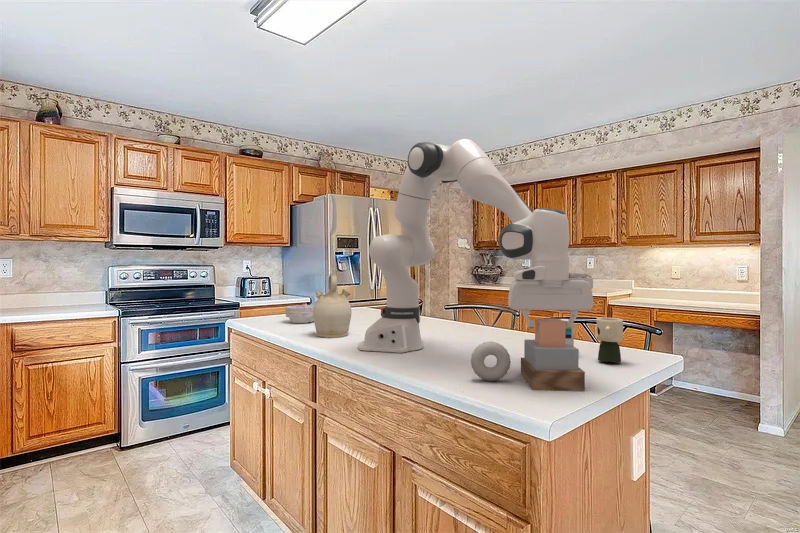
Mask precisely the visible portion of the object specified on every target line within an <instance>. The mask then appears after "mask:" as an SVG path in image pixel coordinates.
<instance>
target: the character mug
mask: <svg viewBox="0 0 800 533" xmlns="http://www.w3.org/2000/svg"><path fill="white" fill-rule="evenodd" d="M623 339H624V319H622V318H618V317H617V318H616V317H597V318H596V340H599V341H601V342H600V344H599V348H598V355H597V356H598V357H597V361H599V362H603V363H605V362H606V363H607V364H610V363H621V362H622V357H621V349H620V348H621V347H620V344H619V342H622V341H623Z"/></svg>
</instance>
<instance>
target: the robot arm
mask: <svg viewBox="0 0 800 533" xmlns="http://www.w3.org/2000/svg"><path fill="white" fill-rule="evenodd" d="M439 182H442V183H443V184H447V183H455V182H457V183H458V184H459V186H460V188H461V189H462V191H464V192H465V193H466V195H467V196H468V197H469V198H471V199H472V200H474V201H476V202H480V203H483V204H486V205H489V206H491V207H493V208H496V209H498V210H499V211H501V212H502V213H504V214H505V215H506V216H507V218H508V219H509V220H510V221H511V223H508V224H507V225H505V226H504V227H503V228H502V230H501V231H500V234H499V235H498V236H499V237H498V247H499V250H500V252H501V253H502V255H503V256H505V258H508V259H513V260H521V261H522V260H524V261H525V260H526V261H529V260H530V261H531V265H530V266H527V267H523V268H521V269H516V270H514V272H513V273H512V277H513V279H514V280H512V282H511V283H510V285H509V292H508V299H507V305H508V307H509V308H510V309H511V310H513V311H515V310H517V311H519V310H520V311H522V312H521V313H522V314H521V315H523V318H524V319H525V321H526V327H527V329H535V320H532V319H530V317H529V315H530V313H531V312H530V311H569V314H570V317H569V319H568V321H565V322H566V327H565V328H567V329H573V323H574V322H575V320H576V319H577V317H578V316H579V312H580V311H581V312H582V311H584V312H585V311H587V312H588V311H591V310H592V309H593V308H594V297H593V291H592V290H593V288H594V279H593V277H592V276H591V275H590V274H588V273H586V272H581V273H579V272H578V273H577V272H570V257H569V254H568V249H569V245H570V225H569V219H568V216H567V214H566V213H565V211H564V210H561V209H554V208H547V207H538V208H536V209H534V210H532V209H531V207H529V205H528V204H527V203H526V201H525V200H524V199H523V198H522V197H521V196H520V195H519V193H518V192H517V191H516V190H515V189H514V187H512V186H511V184H510V183H509V182H508V181H507V180H506V179H505V178H504V177H503V175H502V173H501V172H500V171H499V170H498V168H496V166H495V164H494V163H493V162H492V161H491V159H490V158H489V156H488V155H487V153H486V152H485V151H484V150H483V149H482V148H481V147H480V146H479V145H478V144H477V143H475V142H474V141H473V140H471V139H469V138H462V139H461V138H460V139H459V140H457V141H455V142H453V143H452V145H447V144H439V143H433V142H430V141H429V142H427V141H424V142H417V143H416V144H414V145H413V146H412V147H411V148H410V150H409V152H408V155H407V167H406V168H405V171H404V173H403V175H402V179H401V182H400V186H399V190H398V193H397V198H396V203H395V209H394V217H395V218H396V220H397V221H398V222H399V223H400V224H401V234H391V233H388V234H381V235H378V236H375V237H374V238H373V239H372V240H371V242H370V244H369V247H368V253H369V256H370V260H371V261H372V262H373V263H374V264H375V265H376V266H377V267H378V269H379V270H380V271H381V273H382V276H383V278H384V281H385V287H386V288H385V289H386V306H382V307H381V308H380V317H379V319H377V320H376V321H375V322H374V323H373V324H371V325H370V326H369V327H368V328H367V329H366V330H365V334H364V340H362V341H360V342H359V343H358V344H357V345H358V346H357V349H358V350H360V351H369V352H370V351H371V352H383V353H399V354H400V353H402V354H403V353H407V352H410V351H417V350H421V349H423V348H424V345H423V341H422V336H421V329H420V321H421V307H420V305H419V296H420V292H419V289H420V288H419V283H418V282H417V281H416V280H415V279H414V278H412V276H411V275H410V273H409V270H408V267H420V266H423V265H424V266H425V265H426V264H429V263H430V262H432V260H433V258H434V255H435V245H434V244H433V242H432V240H431V239H430V237H429V234H428V229H427V220H428V214H429V209H430V204H431V200H432V194H433V191H434V190H433V189H434V187H435V185H436V184H437V183H439Z"/></svg>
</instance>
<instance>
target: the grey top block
mask: <svg viewBox="0 0 800 533" xmlns="http://www.w3.org/2000/svg"><path fill="white" fill-rule="evenodd" d="M523 340H524V341H523V342H524V350H523V351H524V354H523V355H524V357H523V358H524V359H525V360H526V361H527V362H528V363H529V364H530V365H531V366H532V367H533V368H534V369H535V370H578V367H579V365H580V364H579V361H580V360H579V355H580V354H579V352H580V351H579V350H580V349H579V348H577V347H575V346H572V345H571V344H569V343H567V342H565V347H540V346H539V345H538V344H537V343H536V342H535V339H523Z"/></svg>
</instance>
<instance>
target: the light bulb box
mask: <svg viewBox="0 0 800 533" xmlns="http://www.w3.org/2000/svg"><path fill="white" fill-rule="evenodd" d="M548 319H552V318H548ZM560 319H561V320H562V321H564V322H565V321H568V320H569V319H568V318H560ZM574 331H575V326H574V322H573V329H567V328H565V342H567V343H569V344H571V345H572V346H574V345H575V344H574V338H575V336H574ZM574 347H575V346H574Z"/></svg>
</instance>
